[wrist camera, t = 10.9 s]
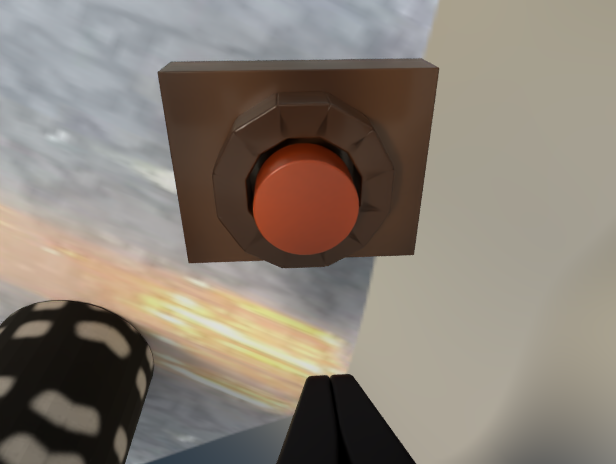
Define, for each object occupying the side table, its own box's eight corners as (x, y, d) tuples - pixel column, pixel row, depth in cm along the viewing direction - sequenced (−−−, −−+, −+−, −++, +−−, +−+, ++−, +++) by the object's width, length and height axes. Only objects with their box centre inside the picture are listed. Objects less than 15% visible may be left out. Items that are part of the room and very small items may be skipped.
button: (257, 233, 17) (256, 257, 16) (252, 143, 15) (248, 161, 14) (349, 229, 17) (357, 254, 16) (354, 140, 16) (362, 158, 14)
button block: (196, 238, 21) (180, 288, 18) (169, 61, 17) (143, 82, 14) (402, 231, 22) (425, 278, 18) (422, 58, 18) (457, 77, 14)
